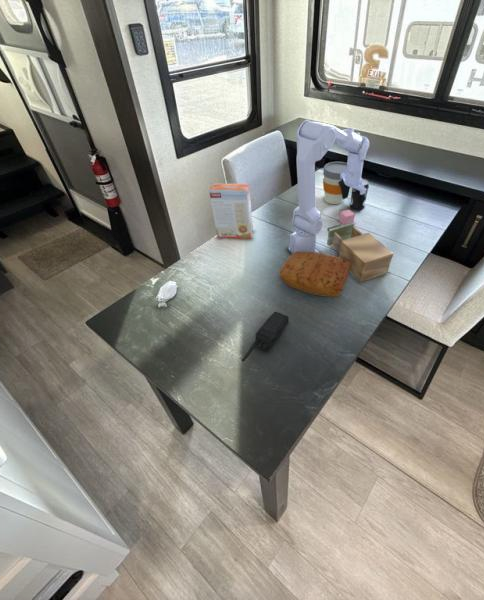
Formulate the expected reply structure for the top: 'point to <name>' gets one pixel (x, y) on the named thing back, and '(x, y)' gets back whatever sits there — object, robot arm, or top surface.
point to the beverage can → (362, 203)
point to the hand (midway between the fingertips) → (350, 202)
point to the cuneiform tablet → (315, 273)
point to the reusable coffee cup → (333, 181)
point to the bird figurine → (166, 293)
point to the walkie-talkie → (269, 332)
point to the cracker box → (232, 210)
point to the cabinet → (365, 256)
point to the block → (346, 217)
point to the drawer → (341, 234)
